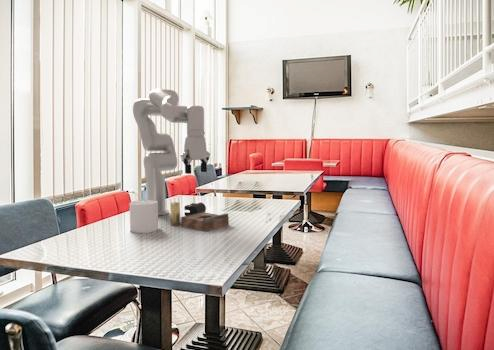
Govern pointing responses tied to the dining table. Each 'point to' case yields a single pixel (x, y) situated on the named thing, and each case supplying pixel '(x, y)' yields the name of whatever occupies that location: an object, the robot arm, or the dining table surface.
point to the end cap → (195, 208)
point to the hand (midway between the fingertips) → (196, 172)
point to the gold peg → (175, 213)
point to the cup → (143, 216)
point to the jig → (205, 221)
